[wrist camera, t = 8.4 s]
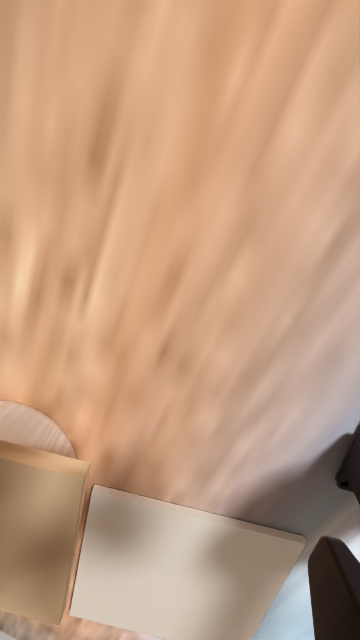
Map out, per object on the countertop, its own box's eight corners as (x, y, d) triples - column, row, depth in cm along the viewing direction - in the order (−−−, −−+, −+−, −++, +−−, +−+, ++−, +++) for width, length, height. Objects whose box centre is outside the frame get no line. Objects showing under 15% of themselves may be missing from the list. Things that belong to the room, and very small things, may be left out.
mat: (304, 536, 25) (306, 544, 25) (240, 649, 31) (240, 657, 31) (94, 484, 25) (91, 490, 24) (71, 607, 31) (69, 615, 31)
